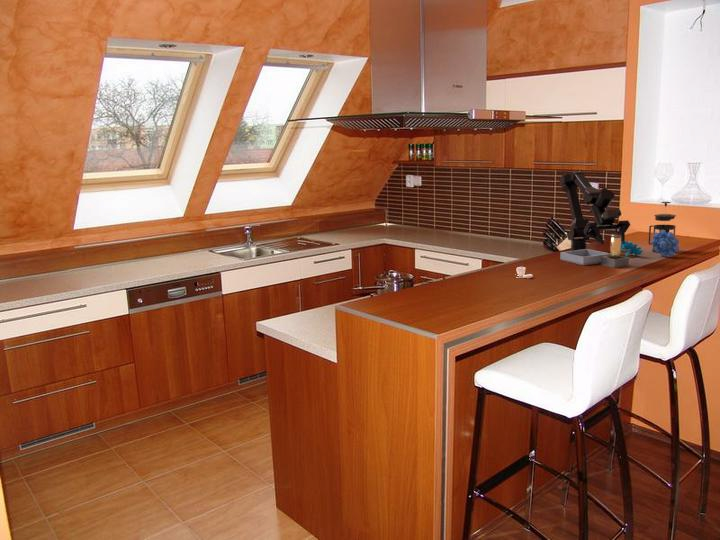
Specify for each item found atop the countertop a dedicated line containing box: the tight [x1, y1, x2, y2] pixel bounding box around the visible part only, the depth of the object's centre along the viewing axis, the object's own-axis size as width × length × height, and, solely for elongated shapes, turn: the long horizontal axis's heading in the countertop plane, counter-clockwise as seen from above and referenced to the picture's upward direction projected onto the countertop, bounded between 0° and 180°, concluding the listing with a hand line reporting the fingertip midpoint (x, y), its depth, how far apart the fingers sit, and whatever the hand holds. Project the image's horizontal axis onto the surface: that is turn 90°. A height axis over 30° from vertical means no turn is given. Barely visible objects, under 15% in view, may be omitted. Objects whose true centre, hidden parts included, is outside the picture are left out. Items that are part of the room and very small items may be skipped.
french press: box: [648, 201, 677, 254], centre depth 279 cm, size 12×9×23 cm
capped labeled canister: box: [609, 233, 622, 259], centre depth 255 cm, size 4×4×13 cm
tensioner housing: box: [600, 255, 630, 269], centre depth 255 cm, size 8×8×4 cm
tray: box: [559, 248, 610, 266], centre depth 268 cm, size 15×15×4 cm
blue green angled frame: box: [620, 240, 643, 258], centre depth 272 cm, size 11×6×10 cm
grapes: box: [650, 230, 680, 258], centre depth 267 cm, size 12×7×12 cm, turn 47°
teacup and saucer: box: [516, 266, 534, 279], centre depth 242 cm, size 9×8×4 cm
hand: (613, 243), depth 256 cm, fingers open, 9 cm apart
